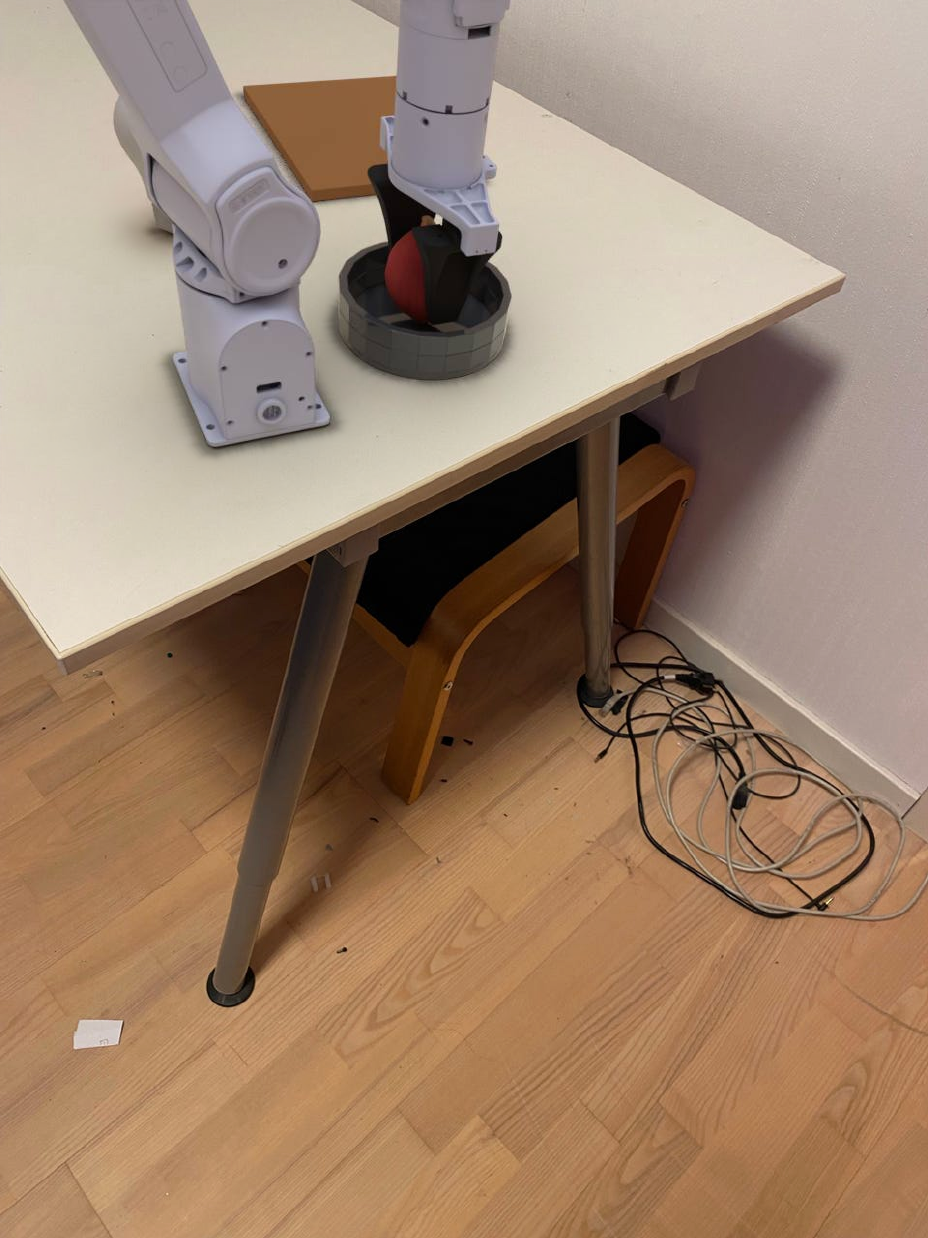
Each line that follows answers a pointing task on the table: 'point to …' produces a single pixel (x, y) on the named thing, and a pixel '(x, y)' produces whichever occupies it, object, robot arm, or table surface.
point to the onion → (407, 276)
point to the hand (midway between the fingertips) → (425, 295)
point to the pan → (407, 344)
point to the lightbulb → (135, 156)
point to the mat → (327, 130)
